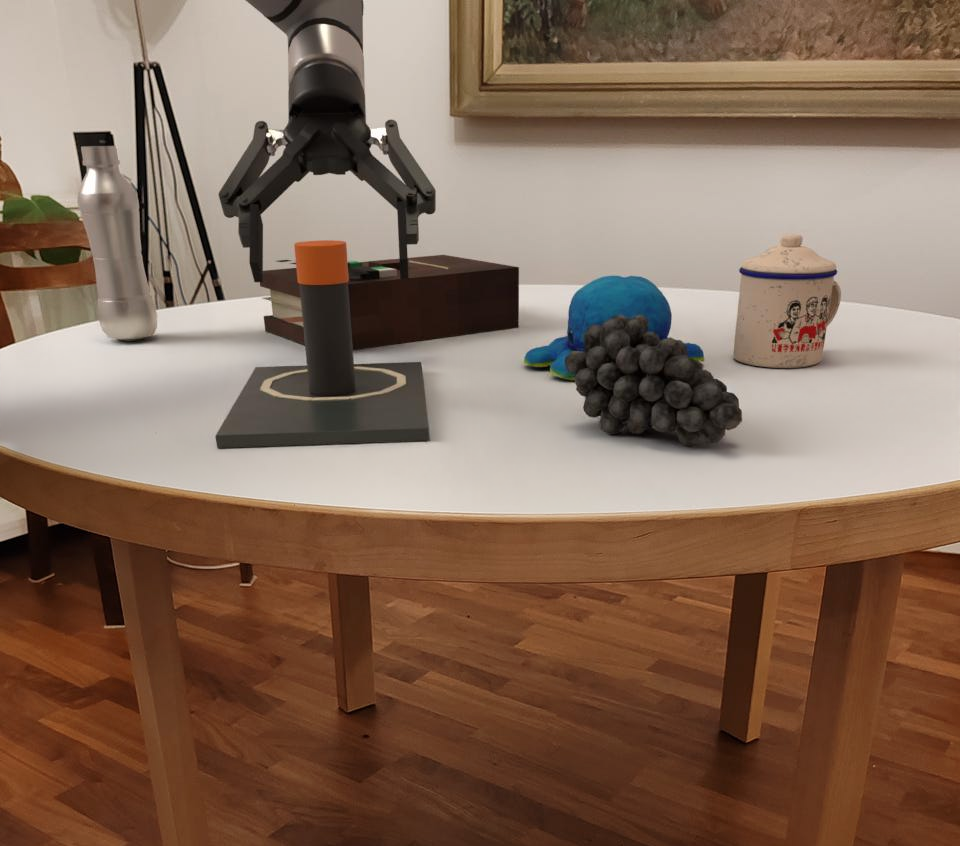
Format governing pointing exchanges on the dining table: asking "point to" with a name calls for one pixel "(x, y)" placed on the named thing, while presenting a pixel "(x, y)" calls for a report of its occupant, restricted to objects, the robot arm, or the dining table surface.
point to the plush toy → (598, 307)
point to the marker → (326, 316)
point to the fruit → (649, 384)
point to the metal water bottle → (115, 247)
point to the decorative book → (407, 300)
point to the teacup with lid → (785, 306)
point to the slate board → (328, 408)
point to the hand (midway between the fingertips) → (330, 271)
